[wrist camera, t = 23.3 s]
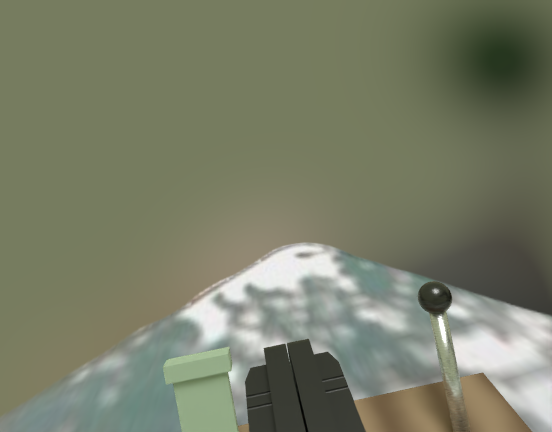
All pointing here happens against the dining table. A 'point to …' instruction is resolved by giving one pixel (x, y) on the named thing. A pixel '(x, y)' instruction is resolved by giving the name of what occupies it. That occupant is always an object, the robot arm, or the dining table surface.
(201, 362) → the sage-green paddle lever
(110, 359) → the dining table surface
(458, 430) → the steel toggle lever
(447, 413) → the walnut switch board
